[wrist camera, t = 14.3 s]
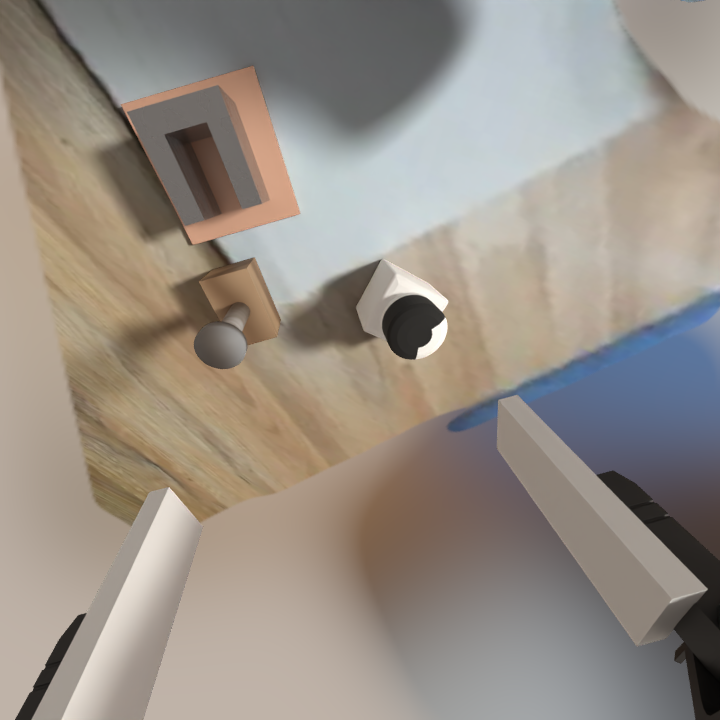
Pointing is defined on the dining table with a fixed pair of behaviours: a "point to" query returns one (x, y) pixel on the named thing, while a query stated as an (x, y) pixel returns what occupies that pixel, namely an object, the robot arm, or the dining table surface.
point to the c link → (177, 157)
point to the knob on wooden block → (236, 314)
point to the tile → (264, 146)
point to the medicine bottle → (403, 312)
